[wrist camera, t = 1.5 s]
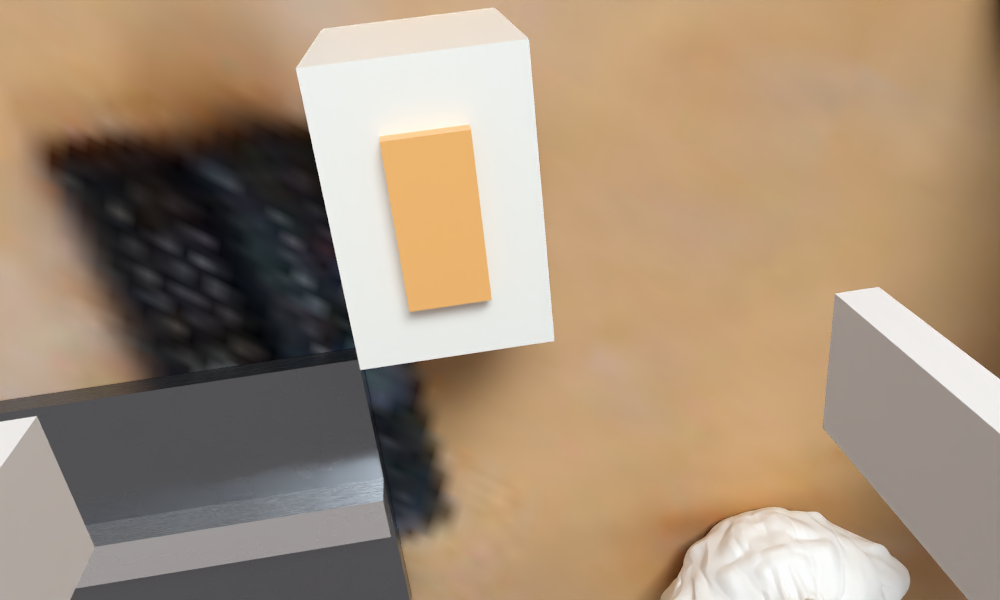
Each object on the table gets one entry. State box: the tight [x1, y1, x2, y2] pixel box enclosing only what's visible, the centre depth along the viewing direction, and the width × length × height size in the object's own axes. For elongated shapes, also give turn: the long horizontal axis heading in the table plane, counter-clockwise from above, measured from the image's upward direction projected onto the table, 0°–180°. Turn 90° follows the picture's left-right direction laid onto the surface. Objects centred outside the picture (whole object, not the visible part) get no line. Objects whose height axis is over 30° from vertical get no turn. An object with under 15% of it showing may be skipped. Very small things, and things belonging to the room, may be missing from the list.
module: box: [296, 8, 554, 370], centre depth 26 cm, size 6×9×9 cm, turn 6°
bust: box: [660, 507, 910, 600], centre depth 36 cm, size 12×8×11 cm
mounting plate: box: [0, 348, 412, 600], centre depth 34 cm, size 16×14×2 cm
